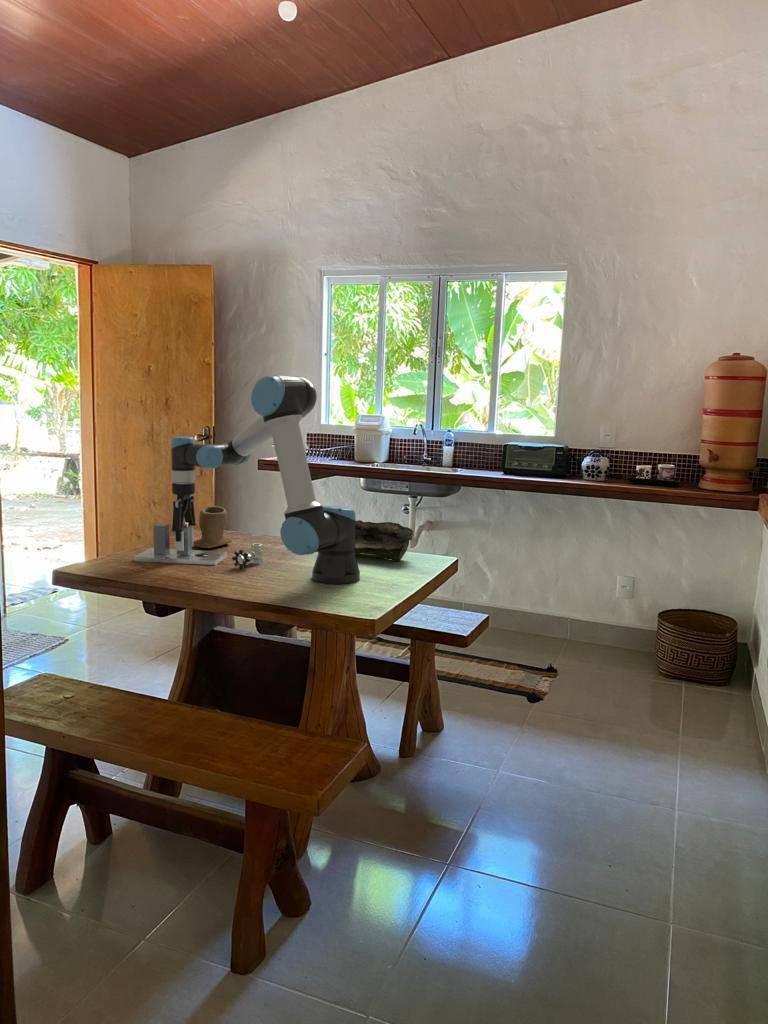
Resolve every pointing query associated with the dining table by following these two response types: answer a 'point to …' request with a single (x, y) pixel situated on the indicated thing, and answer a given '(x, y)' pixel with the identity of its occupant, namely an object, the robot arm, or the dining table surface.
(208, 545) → the stone cup
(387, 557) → the rock
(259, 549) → the valve
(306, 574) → the dining table surface
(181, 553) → the block
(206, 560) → the grey base with knobs
